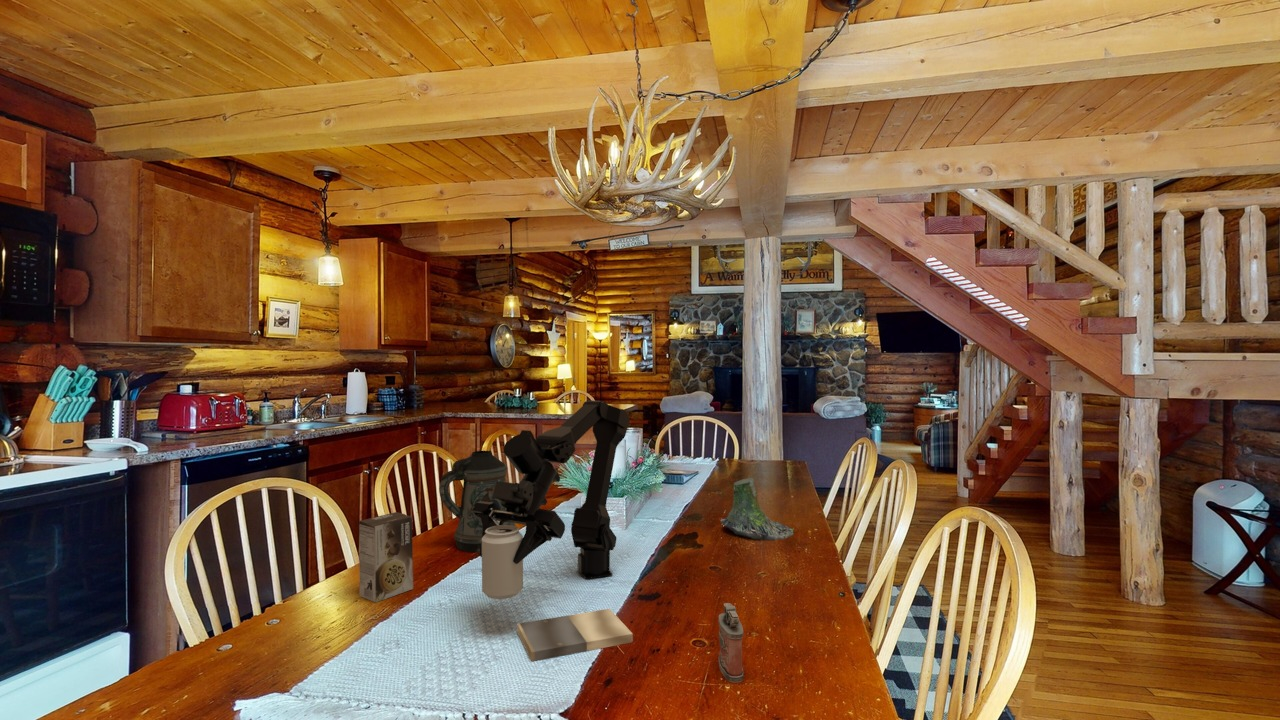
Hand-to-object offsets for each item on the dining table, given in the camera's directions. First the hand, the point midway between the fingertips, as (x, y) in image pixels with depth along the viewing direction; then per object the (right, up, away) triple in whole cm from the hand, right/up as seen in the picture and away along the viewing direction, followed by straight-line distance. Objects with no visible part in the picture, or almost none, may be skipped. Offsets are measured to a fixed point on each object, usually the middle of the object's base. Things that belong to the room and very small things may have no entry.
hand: (497, 559), depth 114 cm
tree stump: (+60, -13, +66) cm, 90 cm away
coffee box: (-28, -14, +19) cm, 37 cm away
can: (+1, -7, +1) cm, 7 cm away
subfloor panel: (+14, -13, -2) cm, 20 cm away
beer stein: (-16, -13, +54) cm, 58 cm away
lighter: (+41, -14, -14) cm, 45 cm away
